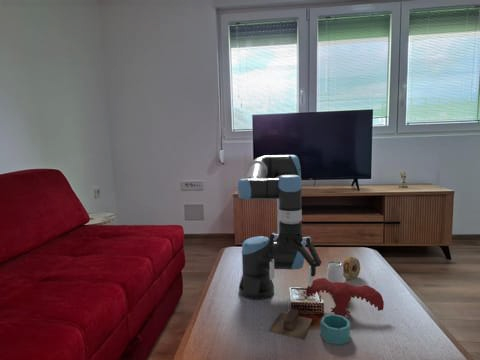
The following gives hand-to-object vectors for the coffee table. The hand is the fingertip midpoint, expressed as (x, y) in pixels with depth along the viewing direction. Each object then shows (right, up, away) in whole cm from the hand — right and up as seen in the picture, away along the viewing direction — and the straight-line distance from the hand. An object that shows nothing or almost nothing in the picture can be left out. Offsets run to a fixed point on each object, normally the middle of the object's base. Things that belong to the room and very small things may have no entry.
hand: (290, 281), depth 110 cm
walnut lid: (+1, -17, +3) cm, 17 cm away
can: (+23, -13, +27) cm, 38 cm away
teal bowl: (+14, -17, -4) cm, 22 cm away
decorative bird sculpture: (+21, -15, +10) cm, 28 cm away
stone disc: (+34, -11, +38) cm, 52 cm away
